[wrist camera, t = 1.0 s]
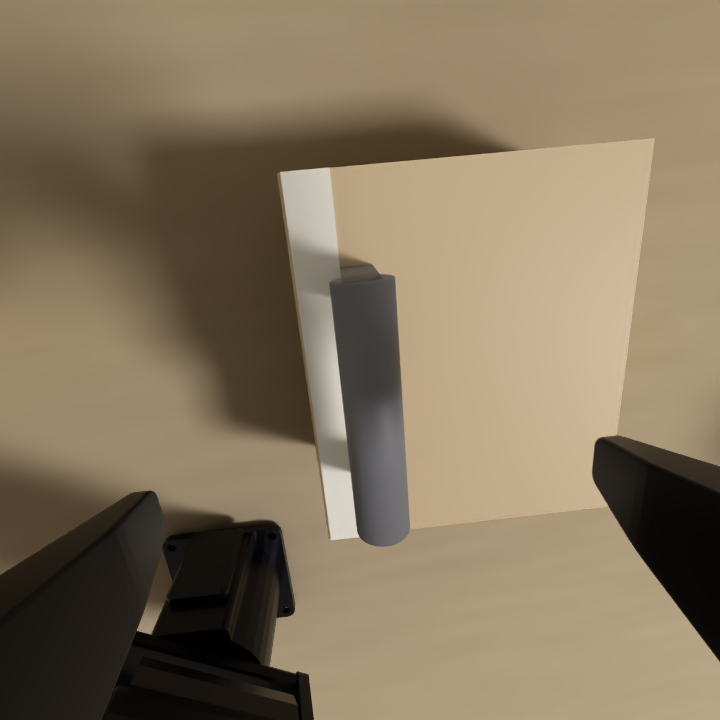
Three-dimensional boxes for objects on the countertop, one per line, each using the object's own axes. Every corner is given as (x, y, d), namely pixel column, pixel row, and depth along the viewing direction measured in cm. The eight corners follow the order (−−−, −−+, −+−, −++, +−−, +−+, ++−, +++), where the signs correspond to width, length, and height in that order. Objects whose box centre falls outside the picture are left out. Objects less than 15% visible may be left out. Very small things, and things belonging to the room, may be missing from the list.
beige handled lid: (600, 498, 17) (680, 584, 13) (328, 529, 17) (327, 627, 13) (643, 141, 13) (781, 108, 9) (279, 174, 12) (254, 156, 9)
